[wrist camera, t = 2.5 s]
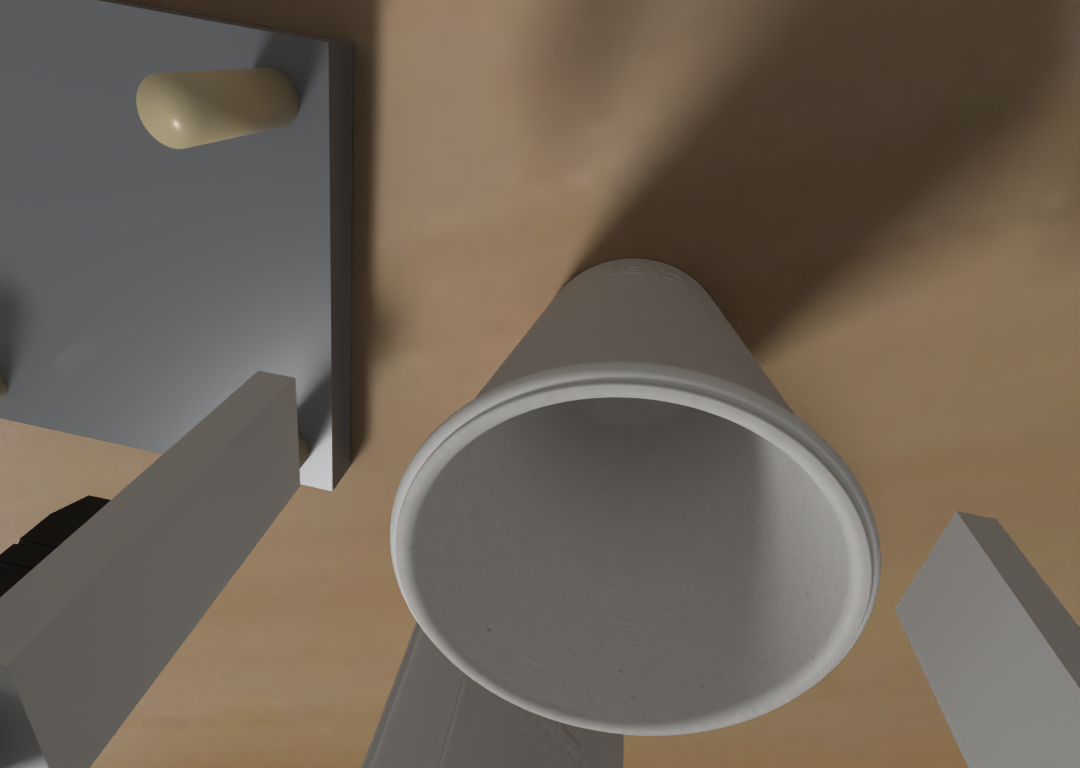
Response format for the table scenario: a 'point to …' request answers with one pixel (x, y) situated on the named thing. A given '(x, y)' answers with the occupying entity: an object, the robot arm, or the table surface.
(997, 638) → the robot arm
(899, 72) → the table surface
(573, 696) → the dixie cup
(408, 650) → the photo printer
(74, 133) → the plate
